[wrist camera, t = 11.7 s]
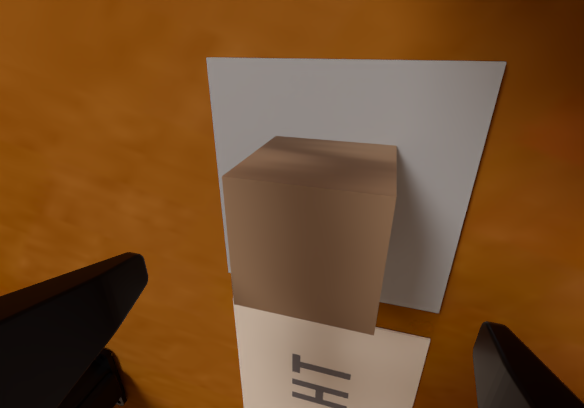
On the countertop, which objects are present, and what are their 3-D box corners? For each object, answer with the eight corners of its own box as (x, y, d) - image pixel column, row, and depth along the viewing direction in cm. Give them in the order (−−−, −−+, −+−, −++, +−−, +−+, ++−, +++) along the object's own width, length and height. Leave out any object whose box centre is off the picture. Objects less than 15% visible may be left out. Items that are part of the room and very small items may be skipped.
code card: (244, 410, 24) (244, 411, 24) (233, 296, 19) (232, 297, 19) (398, 457, 21) (398, 459, 21) (430, 338, 17) (430, 340, 17)
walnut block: (277, 235, 16) (233, 304, 12) (275, 135, 14) (221, 176, 10) (380, 251, 15) (373, 335, 11) (396, 145, 13) (396, 197, 8)
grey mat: (230, 269, 18) (228, 272, 18) (210, 57, 14) (206, 57, 13) (438, 308, 16) (438, 313, 15) (504, 61, 11) (506, 61, 11)
